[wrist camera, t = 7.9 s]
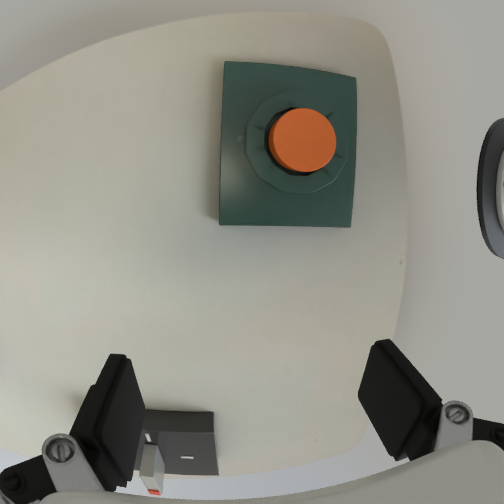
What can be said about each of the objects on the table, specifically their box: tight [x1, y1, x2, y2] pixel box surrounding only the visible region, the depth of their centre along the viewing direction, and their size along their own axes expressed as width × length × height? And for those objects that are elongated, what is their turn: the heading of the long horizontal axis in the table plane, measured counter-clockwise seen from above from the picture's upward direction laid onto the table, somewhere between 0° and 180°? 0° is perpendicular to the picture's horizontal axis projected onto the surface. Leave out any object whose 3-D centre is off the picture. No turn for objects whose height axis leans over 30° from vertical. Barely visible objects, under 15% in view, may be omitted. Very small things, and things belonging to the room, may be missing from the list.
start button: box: [268, 108, 336, 172], centre depth 17 cm, size 4×4×2 cm
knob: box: [139, 444, 165, 495], centre depth 22 cm, size 5×2×5 cm, turn 178°
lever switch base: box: [134, 410, 219, 475], centre depth 26 cm, size 14×10×3 cm
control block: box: [219, 61, 357, 228], centre depth 19 cm, size 10×12×3 cm
